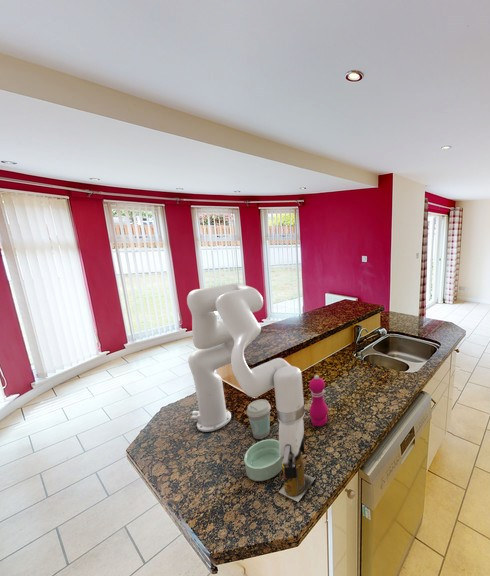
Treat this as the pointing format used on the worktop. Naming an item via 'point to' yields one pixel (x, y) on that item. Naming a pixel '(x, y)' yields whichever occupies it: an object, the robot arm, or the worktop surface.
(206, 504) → the worktop surface
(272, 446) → the bowl
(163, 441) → the worktop surface
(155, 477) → the worktop surface
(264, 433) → the coffee cup
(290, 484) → the condiment
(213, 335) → the robot arm
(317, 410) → the pepper mill
